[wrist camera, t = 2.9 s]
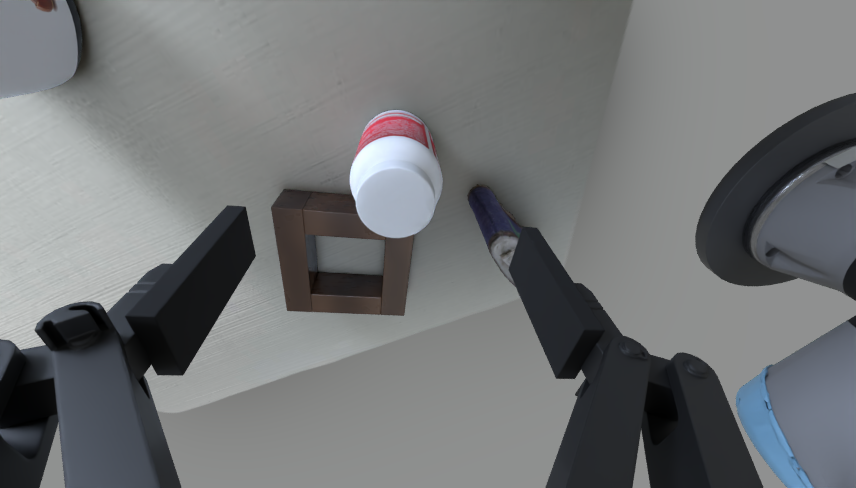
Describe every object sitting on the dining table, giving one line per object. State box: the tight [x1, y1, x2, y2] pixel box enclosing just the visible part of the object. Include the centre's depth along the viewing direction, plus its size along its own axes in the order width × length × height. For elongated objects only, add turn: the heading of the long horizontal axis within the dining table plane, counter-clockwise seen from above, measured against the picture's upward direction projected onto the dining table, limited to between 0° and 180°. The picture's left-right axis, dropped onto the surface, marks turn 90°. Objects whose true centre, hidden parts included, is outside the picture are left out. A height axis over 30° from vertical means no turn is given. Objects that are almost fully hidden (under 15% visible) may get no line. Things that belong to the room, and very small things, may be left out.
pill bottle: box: [350, 110, 443, 238], centre depth 24 cm, size 6×6×11 cm
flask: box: [467, 184, 522, 296], centre depth 28 cm, size 9×3×11 cm, turn 41°
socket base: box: [271, 189, 414, 316], centre depth 32 cm, size 12×12×4 cm
